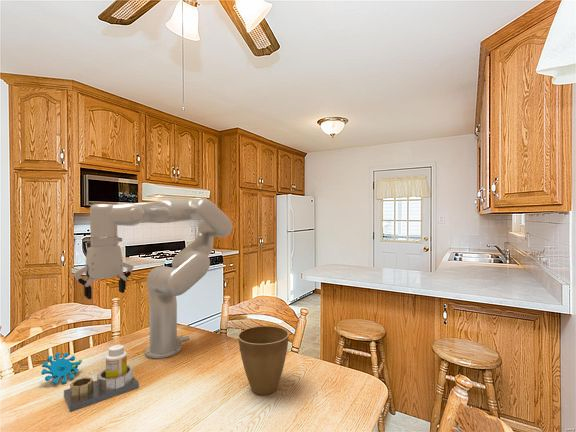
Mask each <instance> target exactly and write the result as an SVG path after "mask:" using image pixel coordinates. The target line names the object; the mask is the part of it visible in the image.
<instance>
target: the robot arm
mask: <svg viewBox="0 0 576 432" xmlns="http://www.w3.org/2000/svg"><path fill="white" fill-rule="evenodd" d="M187 221H188V222H189V221H198V224H197V234H196V238H195V239H194V240H193V241H192V242H191V243H190V244H188V245H187V246H186V247H184V248H183V249H181V250H180V251H179V252H178V253H176V255H174V257H173V258H172V261H171V267H170V266H164V265H163V266H162V265H160V266H156V267H154V268H152V269H151V270H150V271H149V273H148V274H147V278H146V287H147V293H148V300H149V304H148V305H149V308H148V309H149V346H148V347H147V348H146V349H145V350H144V356H145V357H147V358H150V359H155V360H156V359H165V358H169V357H173V356H175V355H177V354H178V353H180V351H182V345H181V344H182V343H185V342H189V341H190V336H189V335H186V336H184V335H182V334H181V335H179V336H178V312H177V311H178V301H177V297H178V296H181V295H183V294H185V293H186V292H187V291H189V290H190V289H191V288H192V287H193V286H195V285H196V284H197V283H198V282H199V281H200V280H202V279H203V277H204V276H205V275H206V274H207V273H208V272H209V269H210V266H211V259H210V257H209V256H210V255H211V254H212V251H213V249H214V241H215V240H214V238H215V237H216V238H225V237H228V236H229V235H230V234H231V233H232V230H233V223H232V220H231V219H230V218H229V217H228V216H227V215H226V214H225V213H224V212H223V211H222V209H220V208H219V206H217V204H215V203H213V202H212V201H211V200H210V199H207V198H185V199H183V198H182V199H165V200H155V201H148V202H135V203H134V202H133V203H130V202H129V203H117V204H112V203H98V204H97V203H96V204H92V205H91V206H90V207H89V224H90V225H89V226H90V230H89V231H90V247H87V250H86V256H85V266H84V267H82V268H80V269H79V270H77V271H75V272H73V274H72V275H73V276H74V278H75V279H76V281H77V283H79V284H81V285H82V286H83V292H84V293H83V294H84V297H85V298H86V299H88V300H92V298H93V297H92V296H93V295H92V290H93V289H92V286H91V284H92V282H94V280H101V279H108V278H115V277H118V278H119V280H118V292H119V293H122V294H124V293H125V290H127V289H126V288H127V285H126V281H127V280H128V278H129V277H130V275H132V271H133V269H134V267H135V266H134V265H132V264H129V263H126V262H124V260H123V253H122V250H121V247H120V246H121V245H119V243H121V242H123V238H122V237H119V236H118V226H126V227H127V226H128V227H131V226H137V225H139V224H144V223H146V224H147V223H148V224H149V223H153V224H168V223H169V224H170V223H177V222H187ZM124 268H126V271H125V272H124ZM83 274H85V277H86V278H85V279H84V278H83V277H82V275H83Z"/></svg>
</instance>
